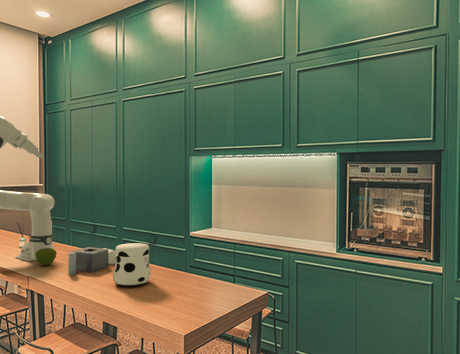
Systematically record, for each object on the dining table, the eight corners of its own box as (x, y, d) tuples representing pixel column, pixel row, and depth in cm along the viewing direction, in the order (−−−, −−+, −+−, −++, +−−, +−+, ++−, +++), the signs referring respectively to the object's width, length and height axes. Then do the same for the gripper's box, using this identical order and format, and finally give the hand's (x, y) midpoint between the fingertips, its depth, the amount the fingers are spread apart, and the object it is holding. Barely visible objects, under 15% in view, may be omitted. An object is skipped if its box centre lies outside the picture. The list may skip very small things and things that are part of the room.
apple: (30, 266, 202) (31, 248, 202) (45, 262, 212) (46, 245, 212) (46, 268, 199) (46, 250, 199) (60, 264, 209) (60, 246, 209)
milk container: (158, 282, 177) (158, 245, 177) (131, 291, 162) (132, 251, 162) (132, 276, 186) (132, 241, 186) (105, 285, 171) (105, 246, 171)
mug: (106, 265, 207) (106, 251, 207) (97, 262, 214) (97, 249, 214) (124, 262, 216) (124, 248, 216) (115, 259, 223) (115, 246, 223)
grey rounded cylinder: (66, 274, 187) (67, 253, 187) (72, 272, 191) (72, 251, 191) (72, 275, 186) (72, 253, 186) (77, 273, 190) (77, 252, 190)
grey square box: (71, 269, 197) (71, 251, 197) (88, 264, 209) (88, 247, 209) (91, 272, 192) (92, 253, 192) (108, 266, 204) (108, 249, 204)
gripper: (13, 144, 199) (35, 161, 205) (16, 144, 182) (40, 162, 188) (22, 136, 201) (43, 152, 207) (25, 135, 183) (48, 153, 190)
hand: (42, 157), depth 197 cm, fingers open, 8 cm apart
